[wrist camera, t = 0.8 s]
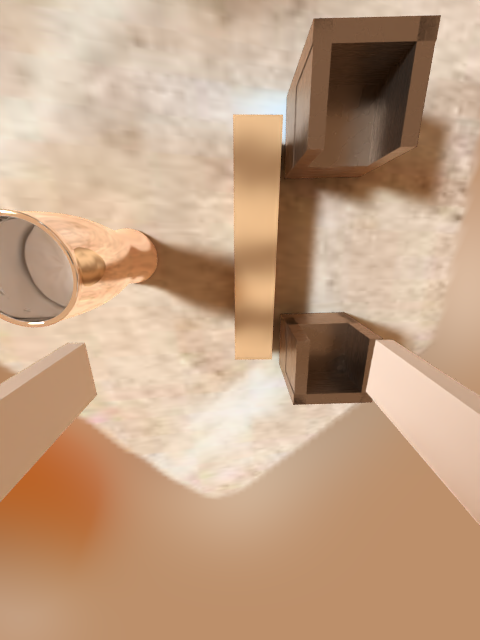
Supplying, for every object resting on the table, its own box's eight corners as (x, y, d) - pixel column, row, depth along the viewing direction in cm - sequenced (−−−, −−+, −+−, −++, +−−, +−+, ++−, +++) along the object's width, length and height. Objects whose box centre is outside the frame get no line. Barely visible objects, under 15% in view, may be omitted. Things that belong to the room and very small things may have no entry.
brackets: (286, 96, 23) (313, 18, 15) (369, 94, 23) (440, 15, 15) (279, 363, 32) (293, 404, 24) (338, 361, 32) (371, 402, 24)
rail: (234, 141, 24) (233, 114, 19) (273, 141, 24) (282, 114, 19) (235, 339, 31) (235, 359, 26) (265, 339, 31) (271, 359, 26)
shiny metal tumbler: (163, 230, 27) (79, 217, 12) (159, 290, 29) (84, 338, 15) (100, 219, 26) (-63, 192, 12) (101, 281, 28) (-36, 321, 14)
